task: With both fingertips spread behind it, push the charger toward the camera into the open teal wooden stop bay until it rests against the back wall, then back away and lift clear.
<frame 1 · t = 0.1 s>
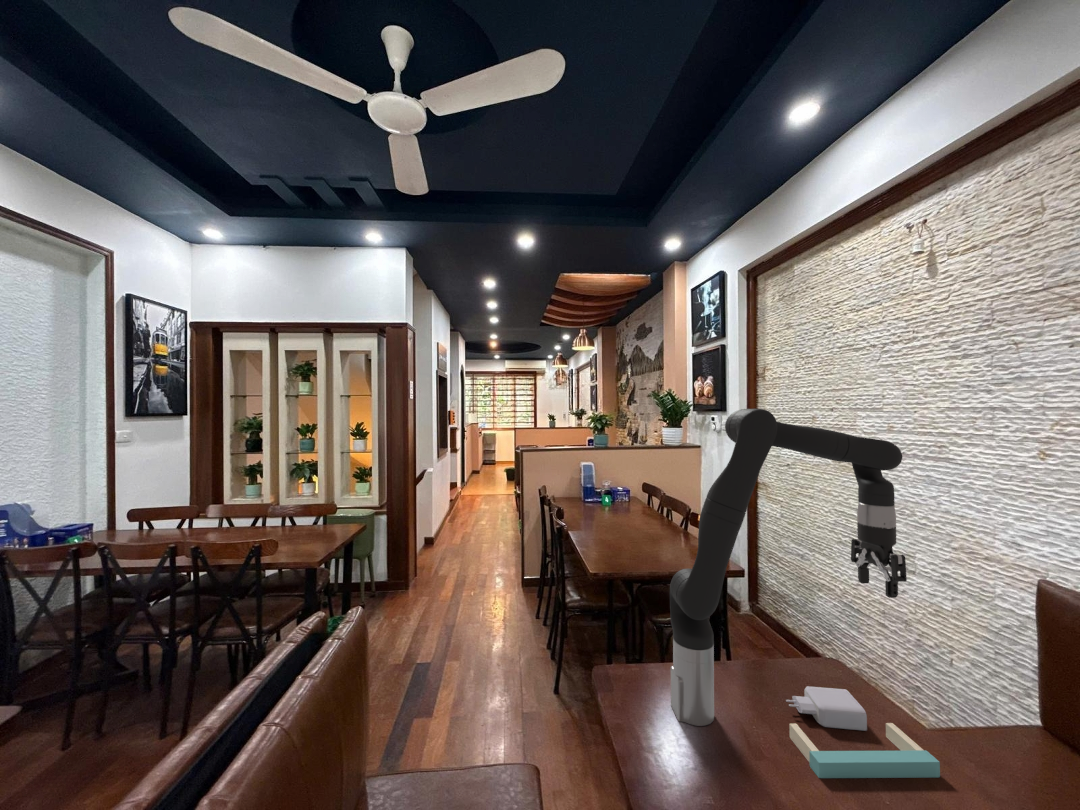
hand: (877, 589, 107), 29 cm above the table, tool pointing down, fingers open, 8 cm apart
stop bay: (873, 771, 89), on the table
charger: (821, 717, 105), on the table
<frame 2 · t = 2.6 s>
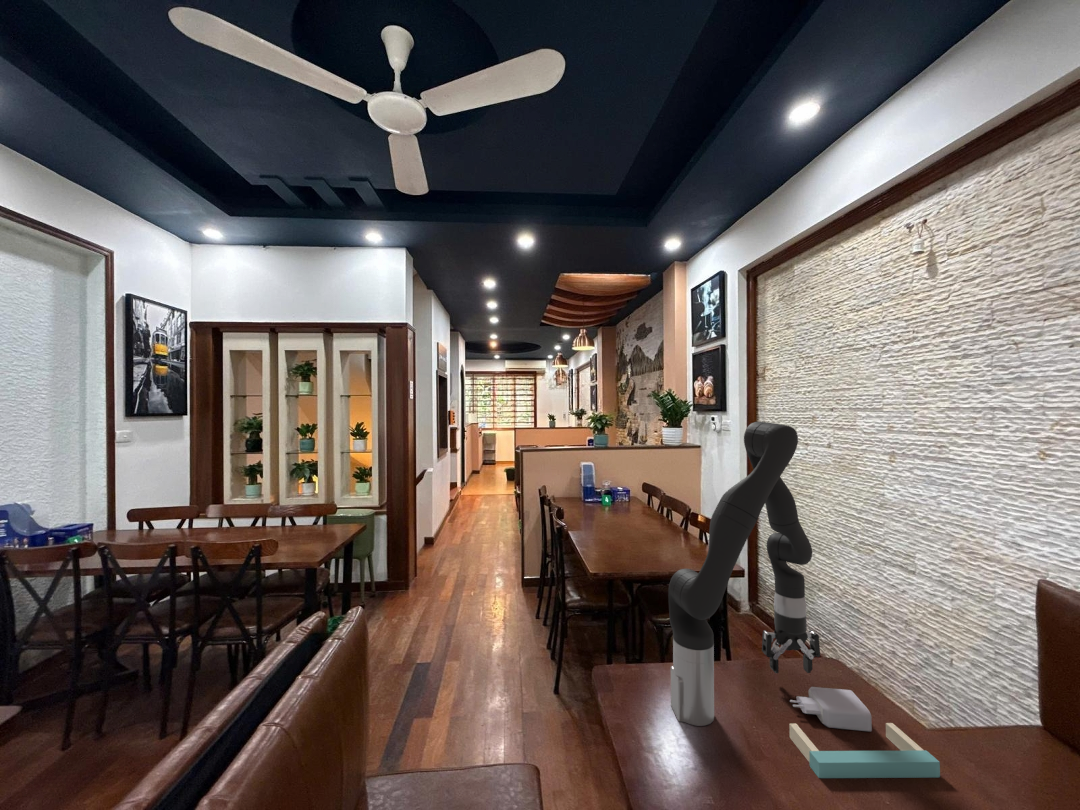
hand: (791, 671, 118), 3 cm above the table, tool pointing down, fingers open, 8 cm apart
nothing on the table moved.
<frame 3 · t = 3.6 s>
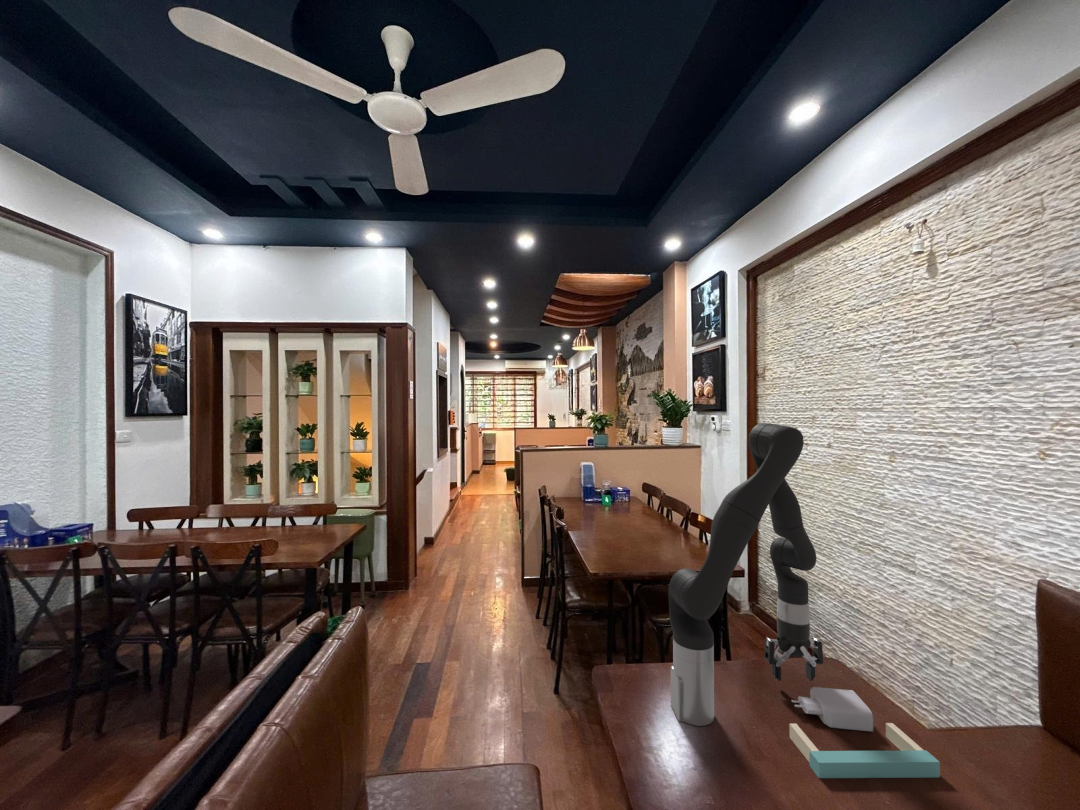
hand: (793, 679, 116), 2 cm above the table, tool pointing down, fingers open, 8 cm apart
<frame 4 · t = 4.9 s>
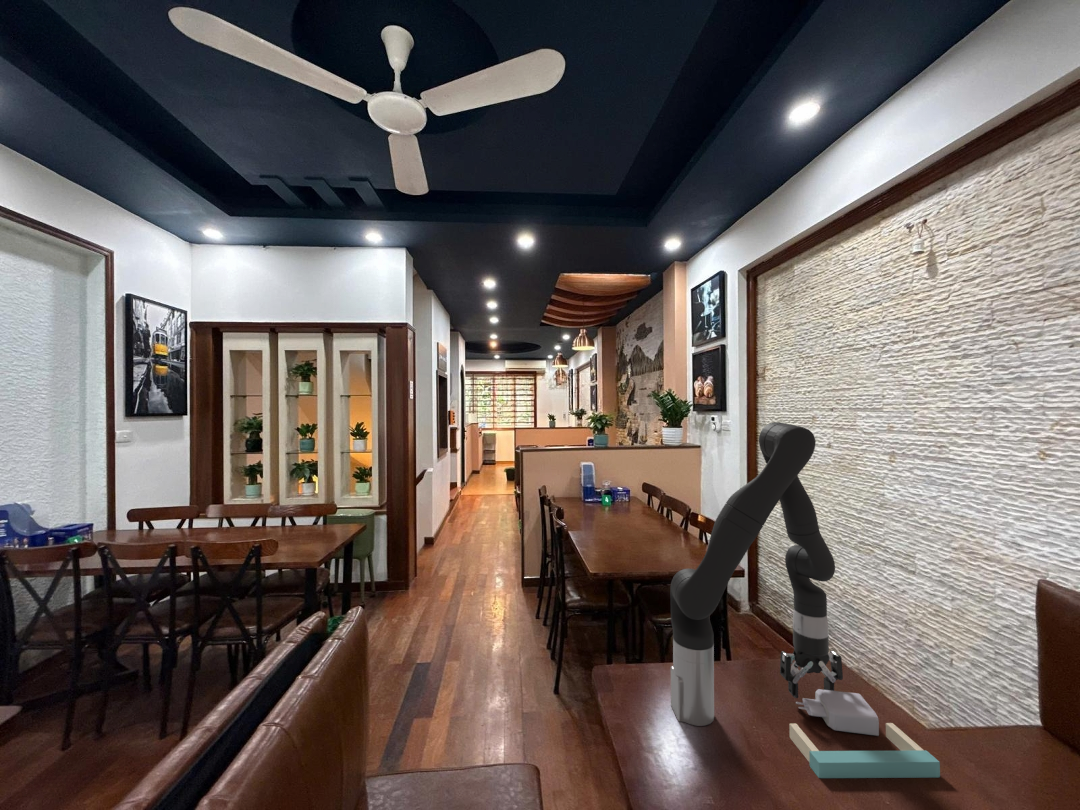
hand: (811, 695, 109), 2 cm above the table, tool pointing down, fingers open, 8 cm apart
charger: (832, 720, 104), on the table, touching gripper
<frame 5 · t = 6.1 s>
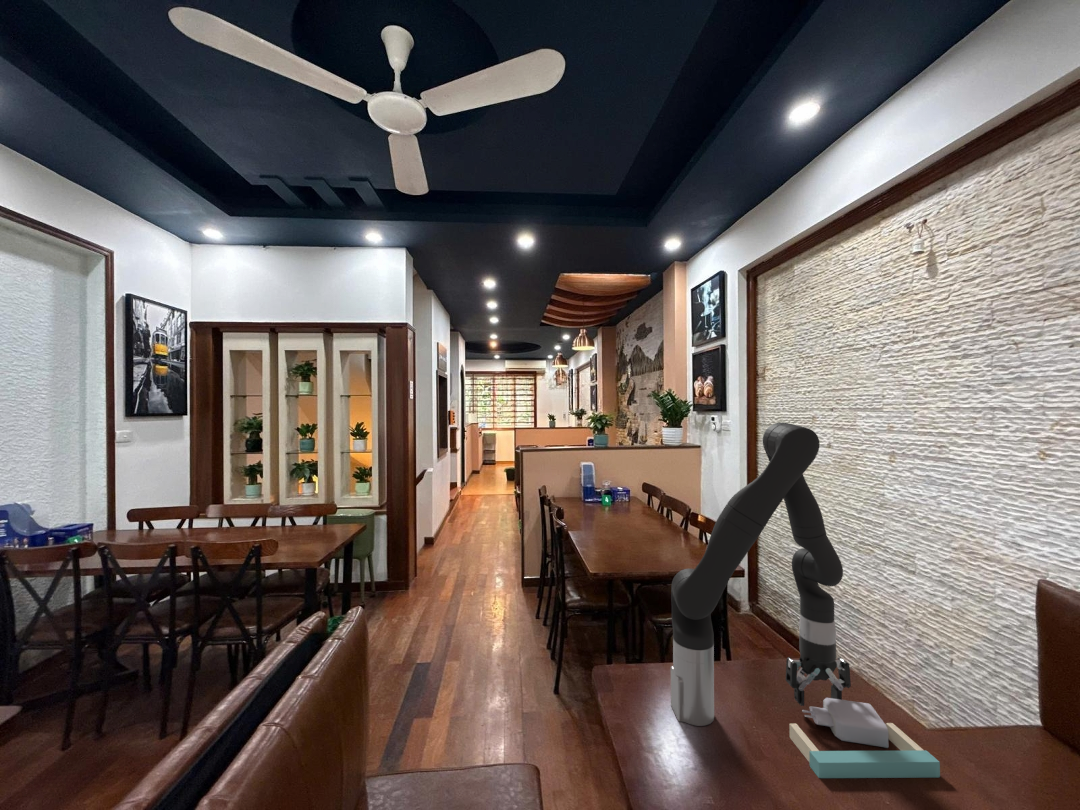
hand: (818, 703, 106), 2 cm above the table, tool pointing down, fingers open, 8 cm apart
charger: (840, 730, 101), on the table
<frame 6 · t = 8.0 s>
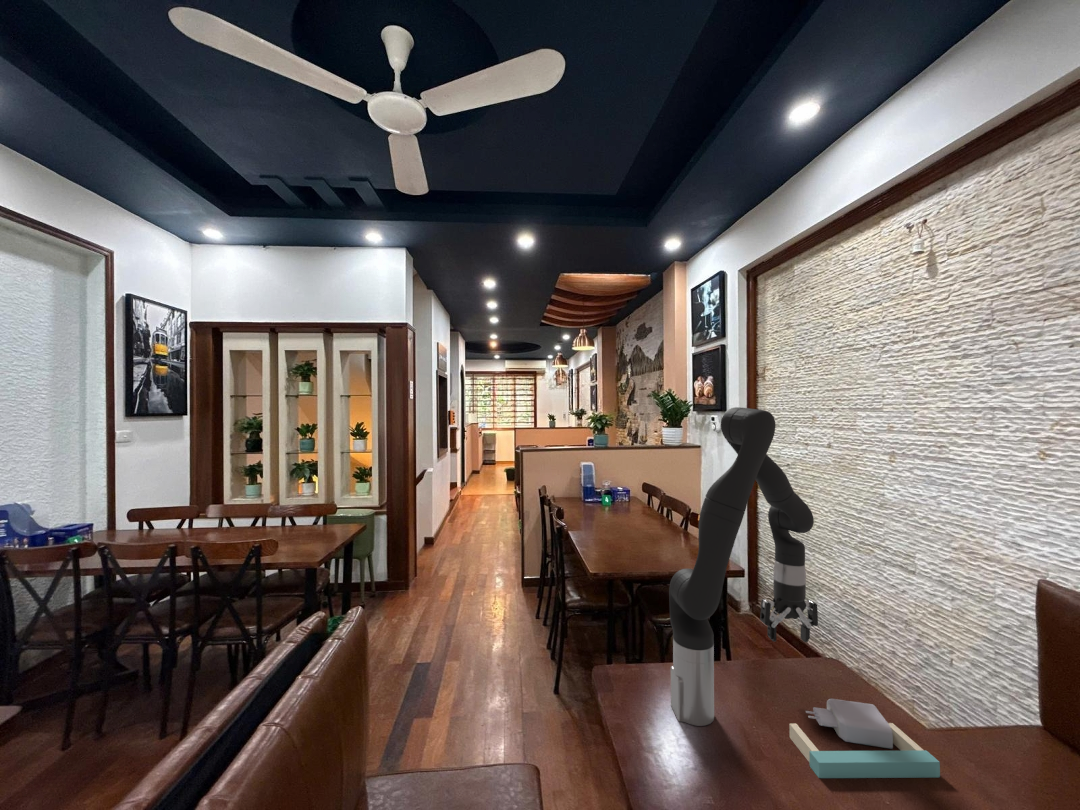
hand: (788, 640, 118), 11 cm above the table, tool pointing down, fingers open, 8 cm apart
nothing on the table moved.
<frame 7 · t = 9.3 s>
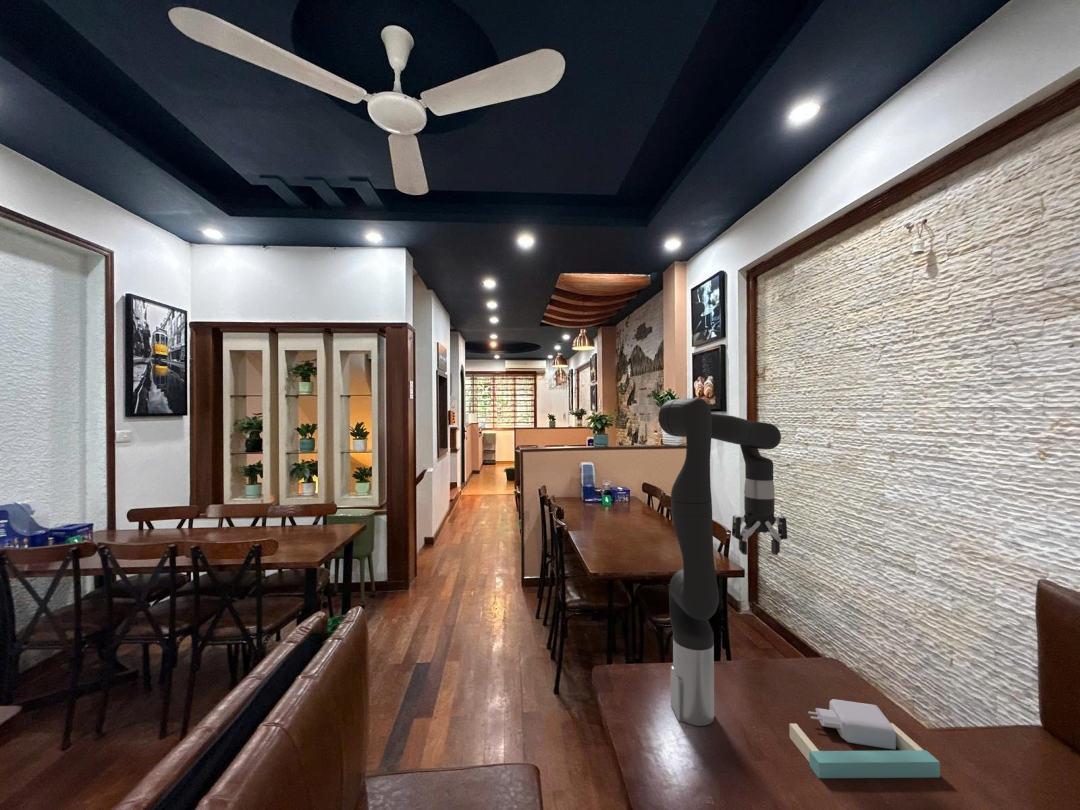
hand: (759, 554, 123), 33 cm above the table, tool pointing down, fingers open, 8 cm apart
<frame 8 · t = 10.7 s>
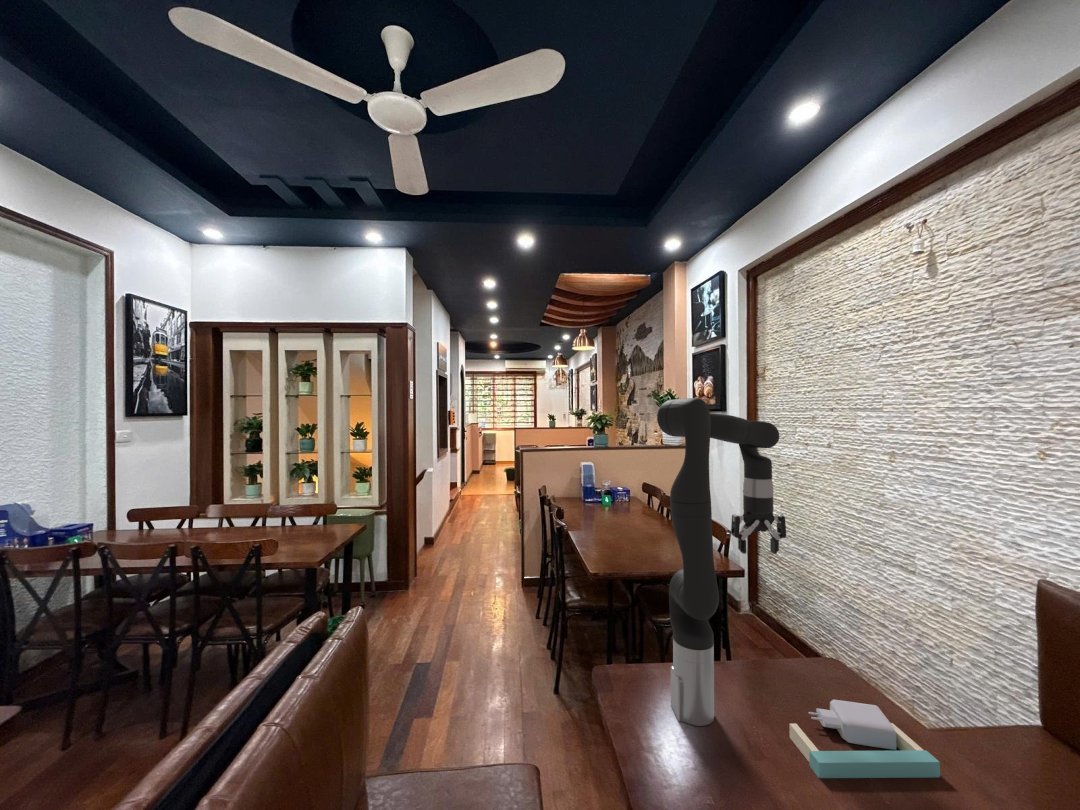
hand: (758, 552, 123), 33 cm above the table, tool pointing down, fingers open, 8 cm apart
at the end: charger inside the target area (3.5 cm from its centre), on the table; charger tilted 0° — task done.
